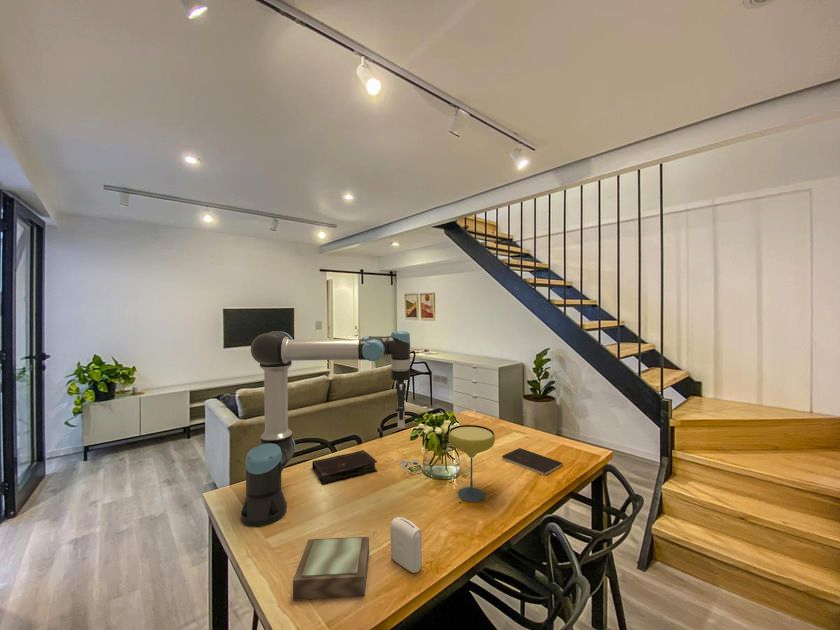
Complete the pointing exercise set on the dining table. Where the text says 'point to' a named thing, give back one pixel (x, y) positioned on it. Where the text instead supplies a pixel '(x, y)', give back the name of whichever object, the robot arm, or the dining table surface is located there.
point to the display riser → (332, 568)
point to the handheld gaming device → (414, 462)
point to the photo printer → (406, 544)
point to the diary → (344, 467)
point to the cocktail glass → (471, 452)
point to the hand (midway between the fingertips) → (401, 422)
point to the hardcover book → (532, 461)
